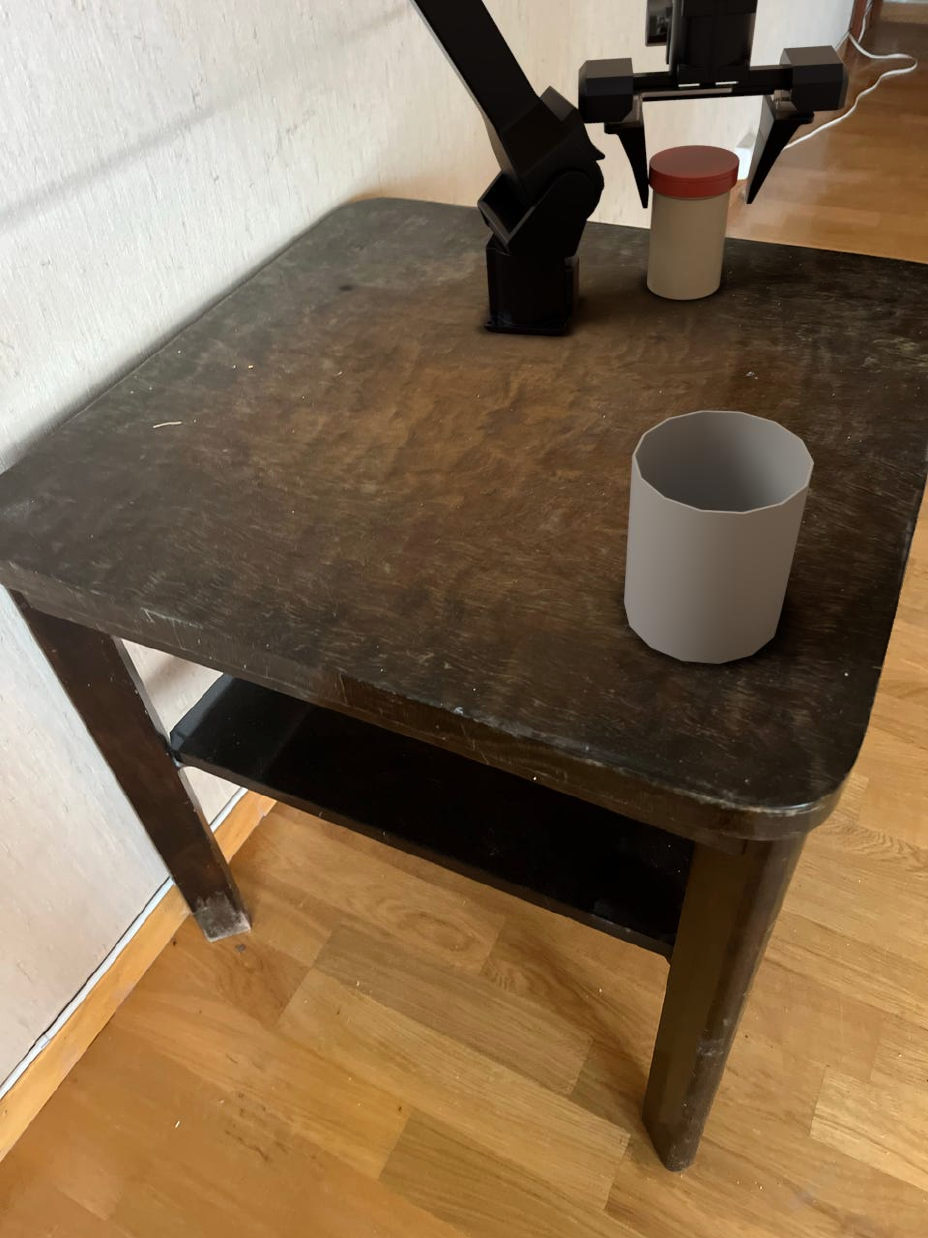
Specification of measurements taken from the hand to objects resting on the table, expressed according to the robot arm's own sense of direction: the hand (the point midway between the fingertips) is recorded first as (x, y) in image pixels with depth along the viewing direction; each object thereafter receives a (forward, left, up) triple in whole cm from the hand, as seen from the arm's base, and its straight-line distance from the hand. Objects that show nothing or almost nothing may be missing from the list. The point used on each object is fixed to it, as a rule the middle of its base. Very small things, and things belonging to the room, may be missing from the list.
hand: (696, 204), depth 75 cm
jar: (-1, 0, -6) cm, 7 cm away
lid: (-1, 0, +3) cm, 3 cm away
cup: (+4, -39, -7) cm, 40 cm away
